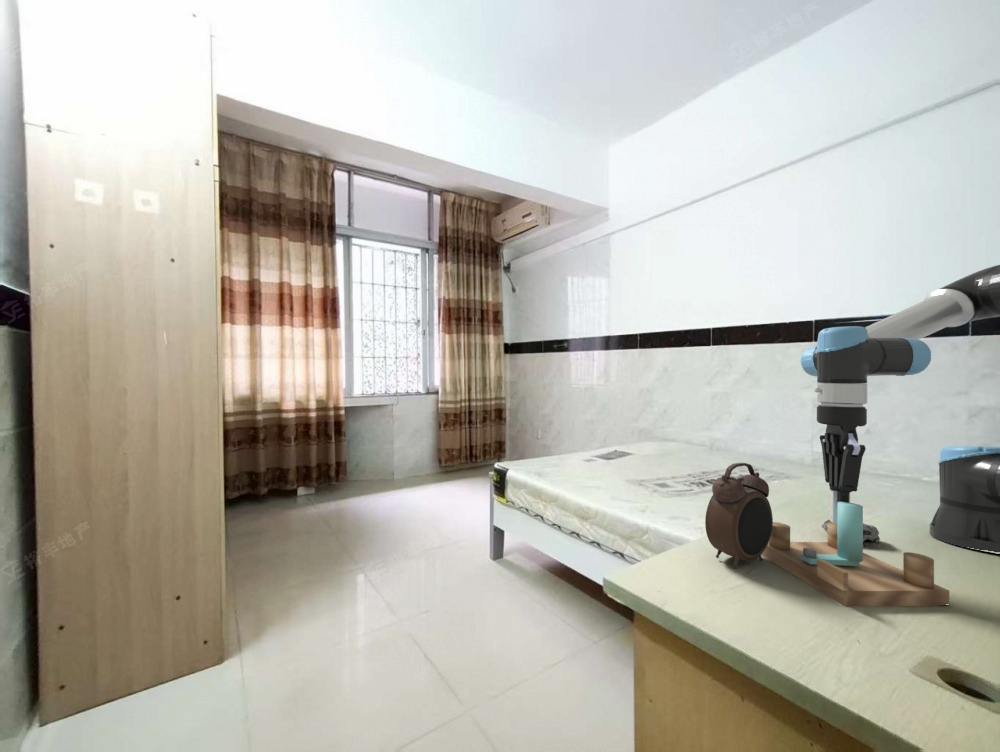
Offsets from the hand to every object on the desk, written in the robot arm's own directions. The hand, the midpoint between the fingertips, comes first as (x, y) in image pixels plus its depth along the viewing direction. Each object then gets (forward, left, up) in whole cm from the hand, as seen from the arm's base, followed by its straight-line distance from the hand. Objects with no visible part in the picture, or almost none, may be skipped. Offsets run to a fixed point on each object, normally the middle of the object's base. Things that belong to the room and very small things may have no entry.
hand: (840, 522), depth 78 cm
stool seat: (+3, +3, -9) cm, 10 cm away
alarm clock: (+18, -3, -9) cm, 21 cm away
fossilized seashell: (-17, -14, -10) cm, 24 cm away
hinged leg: (+5, +3, -6) cm, 9 cm away
